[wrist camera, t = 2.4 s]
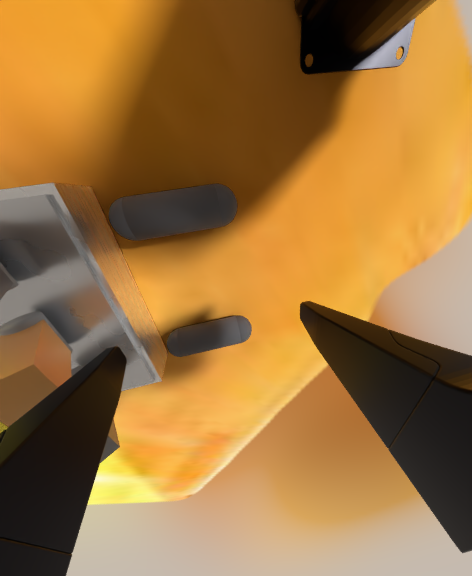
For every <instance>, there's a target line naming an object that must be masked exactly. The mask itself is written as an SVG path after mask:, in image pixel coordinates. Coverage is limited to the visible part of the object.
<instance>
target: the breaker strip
mask: <svg viewBox="0 0 472 576" xmlns="http://www.w3.org/2000/svg"><path fill="white" fill-rule="evenodd" d="M0 262H1V264H2V265H3V266H4V267H5V268H6V270H7V271H8V272H9V273H10V274H11V276H12V277H13V278H14V279H15V281H16V282H17V283H18V284H19V285H18V286H17V287H15V288H13V289H11V290H9V291H7V292H6V294H5V295H4V296H3V297H2V299H1V300H0V326H2V325H3V324H5V323H7V322H8V321H10V320H12V319H14V318H17V317H19V316H22V315H25V314H28V313H31V312H36V311H40V312H42V313H43V314H44V315H45V317H46V318H47V319H48V320H49V321H50V323H51V324H52V325H53V326H54V327H55V329H56V330H57V331H58V332H59V333H60V335H61V336H62V337H63V338H64V339H65V341H66V342H67V343H68V344H69V345H70V347H71V348H72V349H73V351H72V354H71V370H72V369H73V368H76V367H78V366H85V365H87V364H88V363H89V362H90V361H92V360H93V359H94V358H95V357H97V356H98V355H99V354H100V353H102V352H103V351H104V350H105V349H107V348H109V347H113V346H118V347H120V349H121V350H122V352H123V353H124V355H125V357H126V359H127V364H126V369H125V374H124V379H123V384H122V389H121V391H124V390H128V389H132V388H136V387H140V386H144V385H148V384H152V383H156V382H160V381H162V378H163V373H164V369H165V364H166V359H167V354H168V352H167V350H166V347H165V345H164V343H163V341H162V339H161V337H160V334H159V332H158V330H157V328H156V326H155V324H154V321H153V319H152V317H151V315H150V313H149V311H148V308H147V306H146V304H145V302H144V300H143V298H142V295H141V293H140V291H139V289H138V287H137V285H136V282H135V280H134V278H133V276H132V274H131V272H130V269H129V267H128V265H127V263H126V261H125V259H124V256H123V254H122V252H121V250H120V248H119V246H118V243H117V241H116V239H115V237H114V235H113V233H112V230H111V228H110V226H109V224H108V222H107V220H106V217H105V215H104V213H103V211H102V209H101V207H100V204H99V202H98V200H97V198H96V196H95V194H94V191H93V189H92V187H91V186H81V185H71V184H61V183H47V184H40V185H32V186H25V187H17V188H10V189H2V190H0ZM0 336H1V335H0Z"/></svg>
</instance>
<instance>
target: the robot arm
mask: <svg viewBox="0 0 472 576" xmlns="http://www.w3.org/2000/svg"><path fill="white" fill-rule="evenodd" d="M435 1H436V0H295V10H296V13H297V15H298V17H301V16H302V20H301V52H300V65H301V69H302V71H303V72H304V73H305V74H318V73H329V72H341V71H352V70H363V69H375V68H386V67H397V66H399V65H401V64H402V63H403V62H404V60H405V58H406V56H407V53H408V49H409V45H410V40H411V36H412V32H413V27H414V23H415V18H416V17H417V16H418V15H419V14H420V13H422V12H423V11H424V10H425V9H426V8H428V7H429V6H430V5H431V4H432V3H434V2H435ZM399 47H403V55H402V57H401V59H399V60H398V59H397V58H396V52H397V49H398V48H399ZM307 54H312V56H313V64H312V66H311V67H307V66H306V64H305V58H306V56H307ZM300 319H301V321H302V323H303V324H304V326H305V328H306V330H307V332H308V334H309V335H310V337H311V339H312V341H313V342H314V344H315V346H316V347H317V349H318V350H319V352H320V353H321V354H322V356H323V357H324V359H325V360H326V361H327V363H328V364H329V366H330V367H331V368H332V370H333V371H334V373H335V374H336V376H337V377H338V378H339V380H340V381H341V383H342V384H343V386H344V387H345V388H346V390H347V391H348V392H349V394H350V395H351V397H352V398H353V400H354V401H355V402H356V404H357V405H358V407H359V408H360V410H361V411H362V413H363V414H364V415H365V417H366V418H367V420H368V421H369V422H370V424H371V425H372V427H373V428H374V430H375V431H376V432H377V434H378V435H379V437H380V438H381V439H382V441H383V442H384V444H385V445H386V447H387V448H389V451H390V452H391V454H392V455H393V457H394V458H395V459H396V461H397V463H398V464H399V465H400V467H401V468H402V470H403V471H404V472H405V474H406V475H407V476H408V478H409V480H410V481H411V482H412V484H413V485H414V487H415V488H416V489H417V491H418V492H419V494H420V495H421V497H422V498H423V499H424V501H425V502H426V504H427V505H428V507H430V509H431V511H432V512H433V514H434V515H435V516H436V518H437V519H438V521H439V522H440V524H441V525H442V526H443V528H444V529H445V531H446V532H447V533H448V535H449V536H450V538H451V539H452V541H453V542H454V543H455V544H456V546H457V547H458V549H459V550H460V551H461V552H462V553H465V552H468V551H472V356H470V355H467V354H463V353H460V352H457V351H454V350H451V349H447V348H444V347H441V346H437V345H434V344H431V343H428V342H424V341H421V340H418V339H415V338H412V337H409V336H406V335H403V334H401V333H398V332H395V331H392V330H388V329H386V328H384V327H381V326H378V325H375V324H372V323H370V322H367V321H364V320H361V319H358V318H355V317H353V316H350V315H347V314H344V313H341V312H339V311H336V310H333V309H330V308H327V307H325V306H322V305H319V304H316V303H313V302H310V301H306V302H302V303H301V304H300ZM126 364H127V359H126V357H125V355H124V353H123V352H122V350H121V349H120V347H118V346H113V347H109V348H107V349H105V350H104V351H103V352H102V353H100V354H99V355H98V356H97V357H95V358H94V359H93V360H92V361H90V362H89V363H88V364H87V365H85V366H84V367H83V368H82V369H80V370H79V371H78V372H77V373H75V374H74V375H73V376H72V377H70V378H69V379H68V380H67V381H65V382H64V383H63V384H62V385H60V386H59V387H58V388H57V389H55V390H54V391H53V392H52V393H50V394H49V395H48V396H47V397H45V398H44V399H43V400H42V401H40V402H39V403H38V404H37V405H35V406H34V407H33V408H32V409H30V410H29V411H28V412H27V413H25V414H24V415H23V416H22V417H20V418H19V419H18V420H17V421H15V422H14V423H13V424H12V425H10V426H9V427H8V428H7V430H4V431H3V432H2V433H0V576H66V573H67V570H68V567H69V563H70V560H71V557H72V554H71V553H72V552H73V549H74V546H75V543H76V539H77V536H78V533H79V530H80V526H81V523H82V520H83V517H84V513H85V510H86V506H87V503H88V500H89V497H90V494H91V490H92V487H93V484H94V480H95V477H96V474H97V470H98V467H99V464H100V461H101V457H102V454H103V451H104V447H105V444H106V441H107V438H108V434H109V431H110V428H111V424H112V421H113V418H114V415H115V411H116V408H117V405H118V401H119V398H120V394H121V389H122V384H123V379H124V374H125V369H126Z"/></svg>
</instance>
